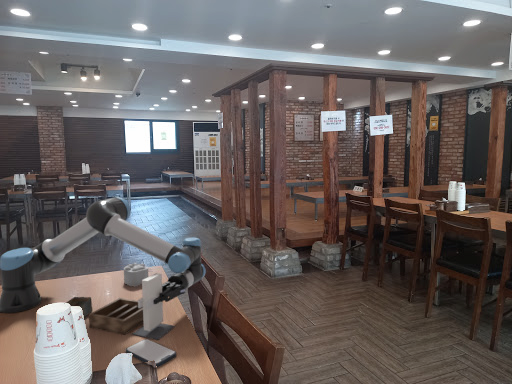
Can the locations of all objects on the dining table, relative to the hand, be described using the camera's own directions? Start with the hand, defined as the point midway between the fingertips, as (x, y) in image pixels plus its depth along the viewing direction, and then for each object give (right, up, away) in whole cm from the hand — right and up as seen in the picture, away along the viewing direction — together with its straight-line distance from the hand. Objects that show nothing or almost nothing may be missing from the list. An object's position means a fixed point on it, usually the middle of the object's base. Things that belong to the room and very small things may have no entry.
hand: (142, 304), depth 121 cm
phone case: (+5, -14, -8) cm, 17 cm away
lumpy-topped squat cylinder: (-22, -7, +57) cm, 61 cm away
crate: (-12, -11, +14) cm, 21 cm away
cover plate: (+2, -9, +6) cm, 11 cm away
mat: (+2, -11, +6) cm, 13 cm away
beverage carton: (-33, -11, +14) cm, 37 cm away
